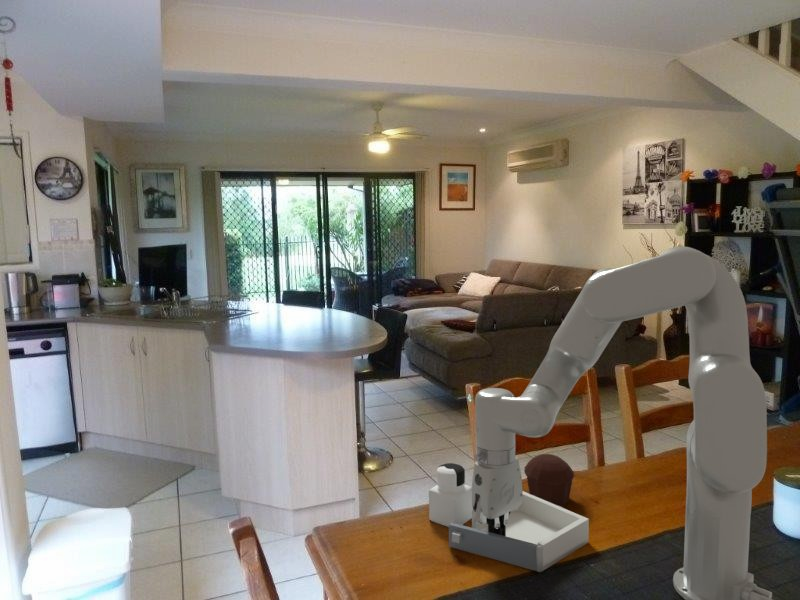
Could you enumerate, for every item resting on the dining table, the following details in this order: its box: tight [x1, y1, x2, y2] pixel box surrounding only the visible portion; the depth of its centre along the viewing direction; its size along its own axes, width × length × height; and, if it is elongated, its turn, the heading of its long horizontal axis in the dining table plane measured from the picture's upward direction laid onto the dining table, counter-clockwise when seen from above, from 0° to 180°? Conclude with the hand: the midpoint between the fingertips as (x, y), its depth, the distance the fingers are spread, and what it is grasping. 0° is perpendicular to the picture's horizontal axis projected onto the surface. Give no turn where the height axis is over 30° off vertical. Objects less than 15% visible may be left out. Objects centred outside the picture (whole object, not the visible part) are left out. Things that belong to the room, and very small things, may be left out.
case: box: [471, 490, 590, 571], centre depth 116 cm, size 18×15×5 cm
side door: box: [448, 522, 544, 573], centre depth 108 cm, size 19×2×5 cm, turn 60°
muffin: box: [523, 453, 575, 507], centre depth 133 cm, size 12×11×10 cm
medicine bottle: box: [428, 462, 473, 528], centre depth 124 cm, size 7×7×12 cm
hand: (497, 543), depth 111 cm, fingers closed
